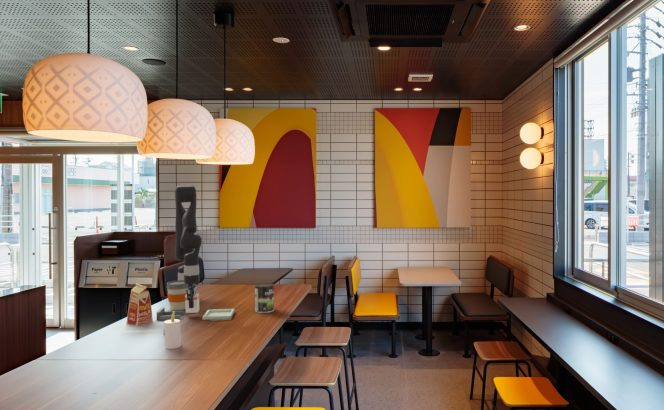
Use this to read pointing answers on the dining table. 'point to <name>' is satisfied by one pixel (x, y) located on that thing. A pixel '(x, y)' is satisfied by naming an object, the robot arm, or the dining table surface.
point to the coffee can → (264, 298)
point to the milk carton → (139, 306)
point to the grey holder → (169, 315)
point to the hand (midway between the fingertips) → (192, 306)
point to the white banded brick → (196, 304)
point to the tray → (219, 314)
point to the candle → (172, 333)
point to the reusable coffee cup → (177, 294)
